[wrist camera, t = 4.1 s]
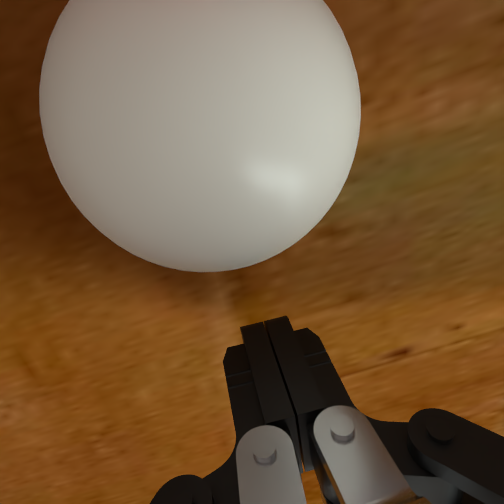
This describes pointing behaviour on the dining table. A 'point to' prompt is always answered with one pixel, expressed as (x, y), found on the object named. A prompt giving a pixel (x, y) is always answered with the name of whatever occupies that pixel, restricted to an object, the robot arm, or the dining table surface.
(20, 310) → the dining table surface
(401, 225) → the dining table surface
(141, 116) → the cue ball
